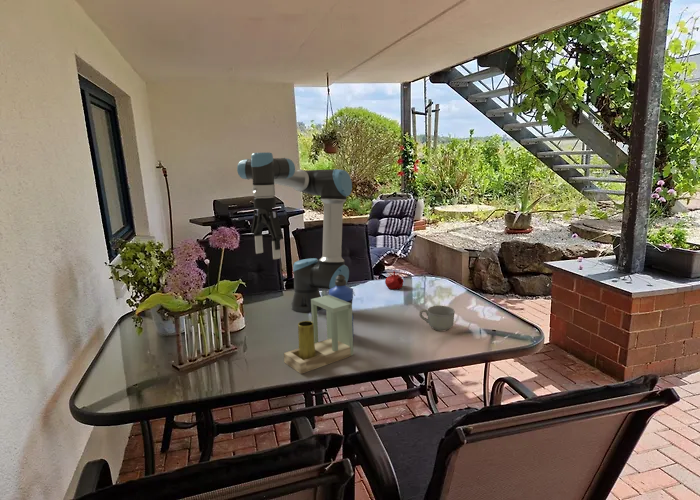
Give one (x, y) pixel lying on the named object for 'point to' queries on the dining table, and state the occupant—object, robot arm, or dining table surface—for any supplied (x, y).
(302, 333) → the vase
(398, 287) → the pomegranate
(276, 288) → the dining table surface
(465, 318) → the dining table surface
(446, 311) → the teacup
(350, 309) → the pale green stool
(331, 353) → the socket block
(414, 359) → the dining table surface
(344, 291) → the water bottle
